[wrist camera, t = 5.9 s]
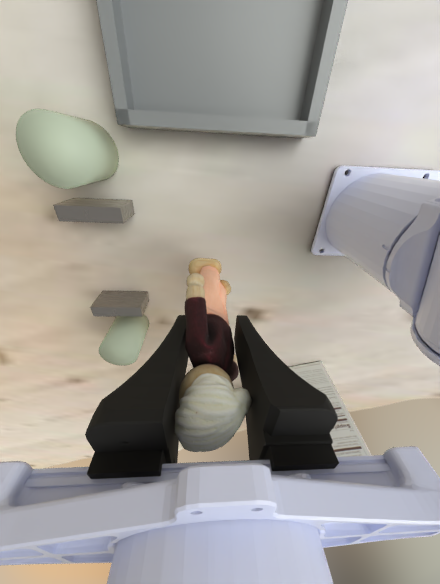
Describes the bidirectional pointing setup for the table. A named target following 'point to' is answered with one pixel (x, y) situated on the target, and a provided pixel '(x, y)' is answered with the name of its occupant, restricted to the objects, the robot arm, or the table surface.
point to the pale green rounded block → (65, 148)
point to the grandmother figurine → (209, 364)
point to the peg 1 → (124, 340)
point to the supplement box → (345, 430)
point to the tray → (221, 63)
